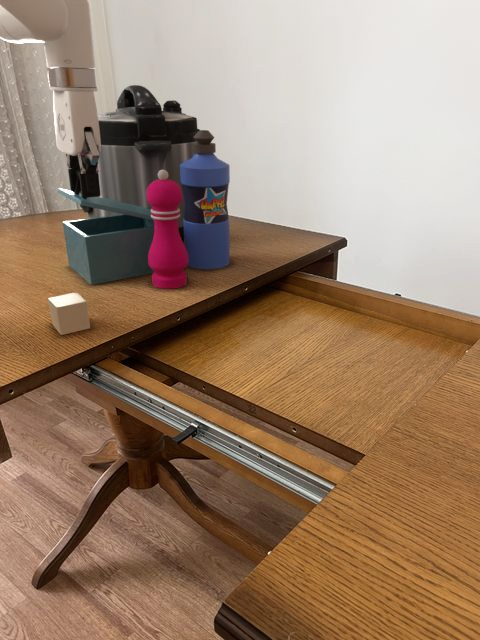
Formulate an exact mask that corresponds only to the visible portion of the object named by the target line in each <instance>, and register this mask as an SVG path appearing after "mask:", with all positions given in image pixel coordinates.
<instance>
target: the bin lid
mask: <svg viewBox="0 0 480 640" xmlns="http://www.w3.org/2000/svg"><path fill="white" fill-rule="evenodd" d="M79 174H81V169H80V168H78V169H76V170H75V176H76V177H77V181H76V187H75V192H72V191H71V190H68V189H65V188H62V187H61V188H60V187H59V188H58V189H57V193H58V194H60V195H62V196H64V197H66V198H67V199H69V200H70V201H72V202H74V203H76V204H78V205H79V206H80V205H82V206H87V207H92V208H96V209H101V210H106V211H111V212H115V213H120V214H125V215H130V216H134V217H139V218H144V219H149V220H153V221H154V219H153V218H152V217H151V211H150V210H149V209H146V208H144V207H140V206H136V205H132V204H127V203H123V202H118V201H114V200H109V199H105V198H100V197H88V198H84V197H82V194H81V193H80V188H81V186H80V177H79Z"/></svg>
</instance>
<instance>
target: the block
mask: <svg viewBox="0 0 480 640" xmlns="http://www.w3.org/2000/svg"><path fill="white" fill-rule="evenodd" d="M47 302H48V307H49V314H50V319H51V324H52V326H53V327H54V328H55V330H56V331H57V332H58V333H59V334H60V336H64V335H68V334H73V333H76V332H77V333H78V332H81V331H85V330H89V329H91V322H90V321H91V320H90V316H89V315H90V314H89V307H88V301H87V300H86V299H85V298H83V297H82V296H81V294H79V293H78V292H72V293H66V294H60V295H57V296H51V297H47Z"/></svg>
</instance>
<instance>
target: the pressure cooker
mask: <svg viewBox="0 0 480 640" xmlns="http://www.w3.org/2000/svg"><path fill="white" fill-rule="evenodd" d="M182 109H183V108H182V107H181V103H180V102H178V101H177V100H166V101H165V103H163V104H162V105H161V103H160V102H159V101H158V99H157V98H156V97H155V95H154V94H153V93H152V91H150V90H149V89H148V88H147V87H146V86H143V85H138V84H133V85H128V86H126V87H125V88H124V89H123V90H122V92H121V93H120V95H119V96H118V99H117V101H116V108H115V111H108V112H101V113H97V115H98V122H99V130H100V140H101V151H100V153H99V160H98V169H99V173H98V174H99V184H100V194H101V195H100V196H99V197H100V198H105V199H109V200H114V201H118V202H123V203H127V204H132V205H136V206H140V207H144V208H146V209H149V210H151V209H152V206H151V205H150V204H149V202H148V201H147V197H146V192H147V188H148V186H149V185H150V184H151V183H152V182H153V181H155V180H159V178H158V172H159V171H160V170H166V171H167V172H168V179H169V180H172V181H174V182H176V183H177V184H178V185H179V187H180V188H181V191H182V201H181V202H180V204H179V205H178V208H179V209H180V212H179V214H180V217H179V218H178V230H179V234H180V237H181V239H184V224H183V219H184V208H185V202H184V195H183V189H182V183H181V180H180V164H182V163H184V162H185V161H187V160H189V159H191V158H192V157H193V155H194V154H195V153H194V152H193V143H197V141H196V140H195V139H194V138H193V137H194V136H195V135H196V133H197V132H198V131H199V130H201V129H199V128H198V119H197V117H196V116H191V115H187V114H186V113H183V111H182ZM84 154H89V153H88V152H84ZM86 159H87V158H86ZM86 159H84V163H85V161H86ZM80 193H81V192H80ZM79 206H80V208H81V209H82V211H83V213H84V214H85V213H87V217H88V218H87V219H89V218H97V217H104V216H112V215H120V213H115V212H111V211H106V210H101V209H96V208H92V207H87V206H82V205H79Z"/></svg>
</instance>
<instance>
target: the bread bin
mask: <svg viewBox="0 0 480 640" xmlns="http://www.w3.org/2000/svg"><path fill="white" fill-rule="evenodd" d="M62 227H63V235H64V240H65V247H66V253H67V261H68V266H69V267H70V269H72V270H73V271H75V272H76V273H77V274H78V275H79V276H80V277H81V278H82V279H84V280H85V281H86V282H87V283H88V284H90V286H93V285H98V284H103V283H110V282H114V281H119V280H125V279H129V278H135V277H140V276H145V275H150V274H151V275H152V274H153V273H154V271H153V270H152V269H151V268H150V266H149V264H148V254H149V250H150V247H151V244H152V241H153V238H154V227H155V225H154V221H153V220H149V219H144V218H139V217H134V216H130V215H125V214H120V215H112V216H104V217H97V218H81V219H75V220H65V221H62Z"/></svg>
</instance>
